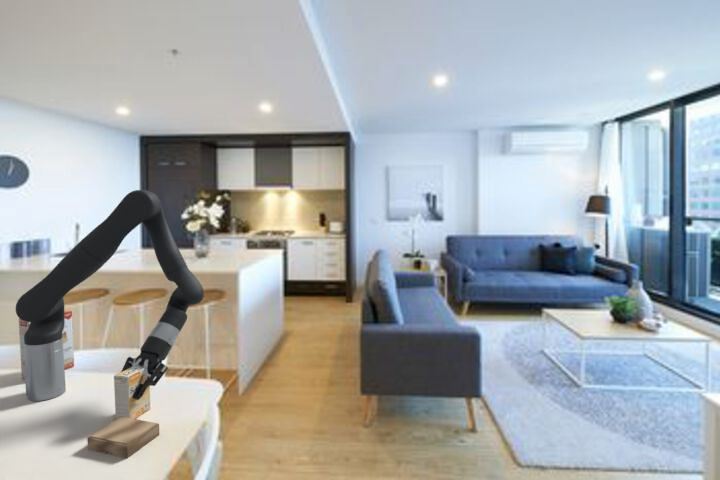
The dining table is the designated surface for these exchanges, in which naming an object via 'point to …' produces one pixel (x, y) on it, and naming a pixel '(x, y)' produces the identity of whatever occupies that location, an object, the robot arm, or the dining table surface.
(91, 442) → the brown square board
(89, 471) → the dining table surface
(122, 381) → the supplement box
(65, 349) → the cracker box
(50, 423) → the dining table surface
